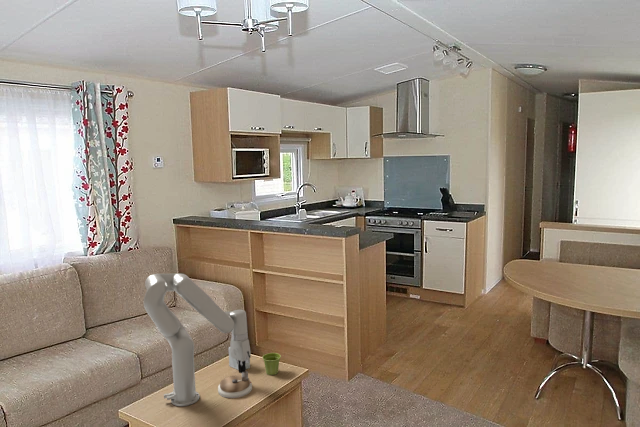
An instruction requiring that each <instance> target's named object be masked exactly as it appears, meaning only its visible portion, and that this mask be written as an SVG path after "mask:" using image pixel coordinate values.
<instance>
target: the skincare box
mask: <svg viewBox="0 0 640 427" xmlns="http://www.w3.org/2000/svg"><path fill="white" fill-rule="evenodd" d="M249 360H250V362H249V363H246V364H245V366H246V370H247V369H250V368H251V357H250V358H249ZM228 367H230V368H233V369H235V370H237V371H239V370H238V364H237V361H236V359H234V358H232V357H231V353H230V346H228Z"/></svg>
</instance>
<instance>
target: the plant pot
mask: <svg viewBox="0 0 640 427" xmlns="http://www.w3.org/2000/svg"><path fill="white" fill-rule="evenodd" d="M281 357H282V355H281V354H280V353H278V352H270V353H269V352H268V353H266V354H264V355H262V358H261V359H262V360H263V362H264V368H265V373H266V375H268V376H275V375H277V374H278V373H279V367H280V366H279V365H280V360H281Z"/></svg>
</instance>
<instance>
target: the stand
mask: <svg viewBox="0 0 640 427" xmlns="http://www.w3.org/2000/svg"><path fill="white" fill-rule="evenodd" d="M252 390H253V383H252V381H251V380H250V385H249V387H248V388H246V389H244V390H242V391H239V392H225V391H223V390H221V388H220V383H219V384H218V386H217V392H218V395H220V396H221V397H223V398H226V399H235V398H237V399H238V398H242V397H244V396H247V395H249V394H250V392H252Z"/></svg>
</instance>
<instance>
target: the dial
mask: <svg viewBox="0 0 640 427" xmlns="http://www.w3.org/2000/svg"><path fill="white" fill-rule="evenodd" d="M250 381H251V380H250V378H249V372H248V371H247V370H246V371H243V372H242V373H241V375H240V374H237V375H236V374H235V375H230V376H227V377H226V376H225V377H224V378H223V379H221V381H220V383H219V384H220V388H221V390H223V391H225V392H239V391H242V390H244V389H246V388H248V387H249V385H250Z"/></svg>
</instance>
